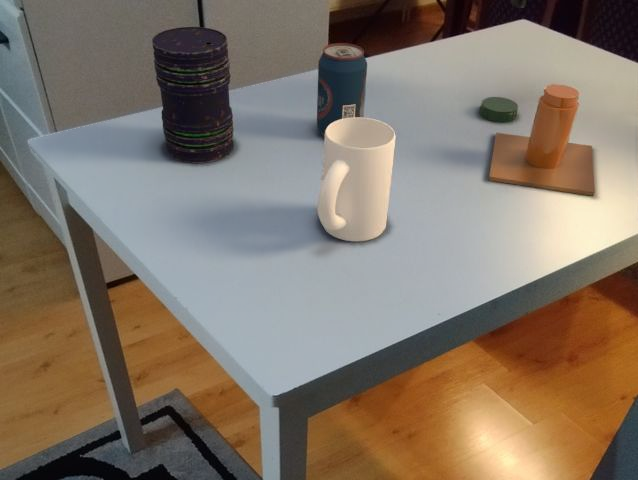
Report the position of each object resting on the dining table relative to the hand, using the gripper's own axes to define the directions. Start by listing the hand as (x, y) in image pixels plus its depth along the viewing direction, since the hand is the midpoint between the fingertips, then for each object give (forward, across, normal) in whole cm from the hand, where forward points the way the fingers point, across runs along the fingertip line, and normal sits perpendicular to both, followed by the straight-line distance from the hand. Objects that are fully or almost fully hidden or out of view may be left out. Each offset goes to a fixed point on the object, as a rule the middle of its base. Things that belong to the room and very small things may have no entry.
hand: (539, 2), depth 101 cm
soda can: (+16, -31, +5) cm, 35 cm away
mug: (+16, -44, -18) cm, 51 cm away
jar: (+15, -10, -17) cm, 25 cm away
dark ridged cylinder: (+15, -51, +10) cm, 55 cm away
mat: (+16, -11, -17) cm, 25 cm away
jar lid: (+14, -5, -1) cm, 15 cm away
